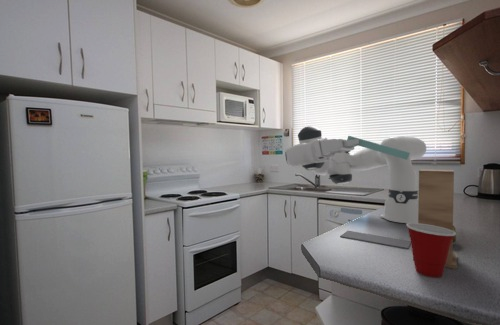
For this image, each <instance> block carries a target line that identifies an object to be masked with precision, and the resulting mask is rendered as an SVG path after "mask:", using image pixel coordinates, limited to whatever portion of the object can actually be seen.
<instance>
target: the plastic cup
mask: <svg viewBox="0 0 500 325" xmlns="http://www.w3.org/2000/svg"><path fill="white" fill-rule="evenodd" d="M405 224H406V228H407V229H408V234H409V239H410V241H411V244H410V246H411V251H412V258H414V261H413V262H414V268H415V271H416V272H417V273H418V274H420V275H423V276H426V277H430V278H440V277H442V276H443V274H444V270H445V267H444V266H445V263H446V260H447V256H448V251H449V247H450V244H451V241H452V239H453V237H454V235H456V236H457V232H455V231H456V230H455V231H452V230H450V229H446V228H443V227H439V226H434V225H428V224H420V223H405Z"/></svg>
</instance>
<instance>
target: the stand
mask: <svg viewBox="0 0 500 325" xmlns="http://www.w3.org/2000/svg"><path fill="white" fill-rule="evenodd" d="M454 182H455V170H454V169H432V168H431V169H429V168H428V169H427V168H421V169H419V170H418V202H419V203H418V223H420V224H428V225H434V226H439V227H443V228H446V229H450V230H452V231H453V226H454V195H455V194H454V187H455V185H454V184H455V183H454ZM453 245H454V244H453V239H452V241H451V244H450V247H449V251H448V256H447V260H446V263H445V266H444V268H449V269H455V270H457V268H458V260H457V259H458V258H457V254H458V253H455V252H453V250H454V248H453ZM412 258H413V257H412ZM412 260H413V262H414V258H413V259H412Z"/></svg>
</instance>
